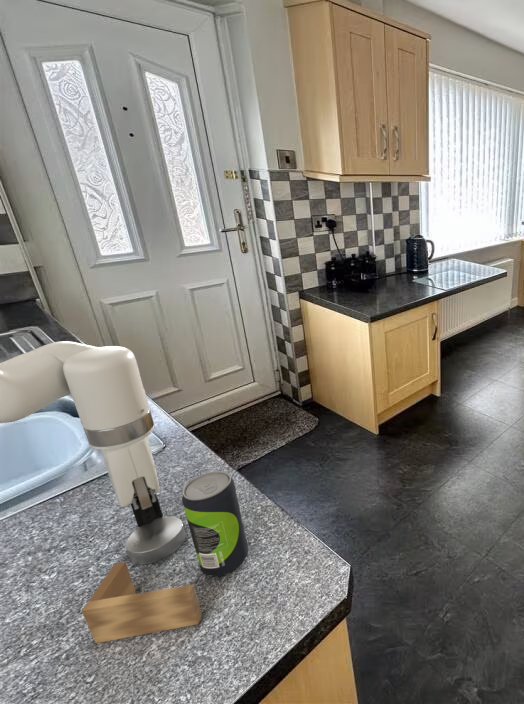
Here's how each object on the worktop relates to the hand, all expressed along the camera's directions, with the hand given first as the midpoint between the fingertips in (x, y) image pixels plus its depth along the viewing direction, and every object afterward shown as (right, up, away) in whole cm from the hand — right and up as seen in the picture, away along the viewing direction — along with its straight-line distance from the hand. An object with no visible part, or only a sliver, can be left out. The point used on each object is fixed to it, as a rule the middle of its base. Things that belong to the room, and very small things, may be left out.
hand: (150, 519), depth 70 cm
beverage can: (+16, -4, -4) cm, 17 cm away
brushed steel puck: (+4, -3, -2) cm, 5 cm away
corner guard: (+12, -7, -12) cm, 18 cm away
